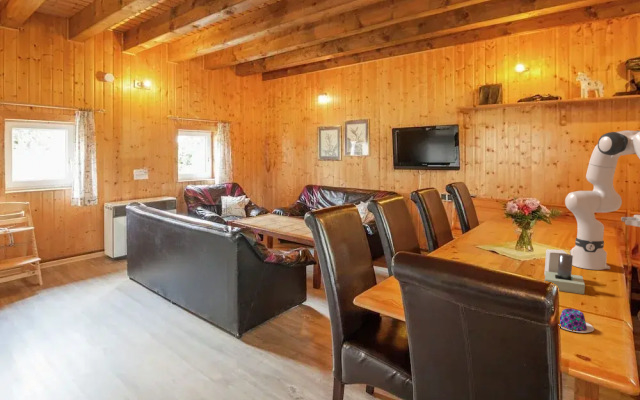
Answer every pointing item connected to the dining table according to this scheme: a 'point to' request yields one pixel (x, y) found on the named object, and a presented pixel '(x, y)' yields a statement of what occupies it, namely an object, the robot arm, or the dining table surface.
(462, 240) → the dining table surface
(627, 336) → the dining table surface
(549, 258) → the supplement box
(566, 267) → the peg
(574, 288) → the socket block
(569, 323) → the purple patterned hat
